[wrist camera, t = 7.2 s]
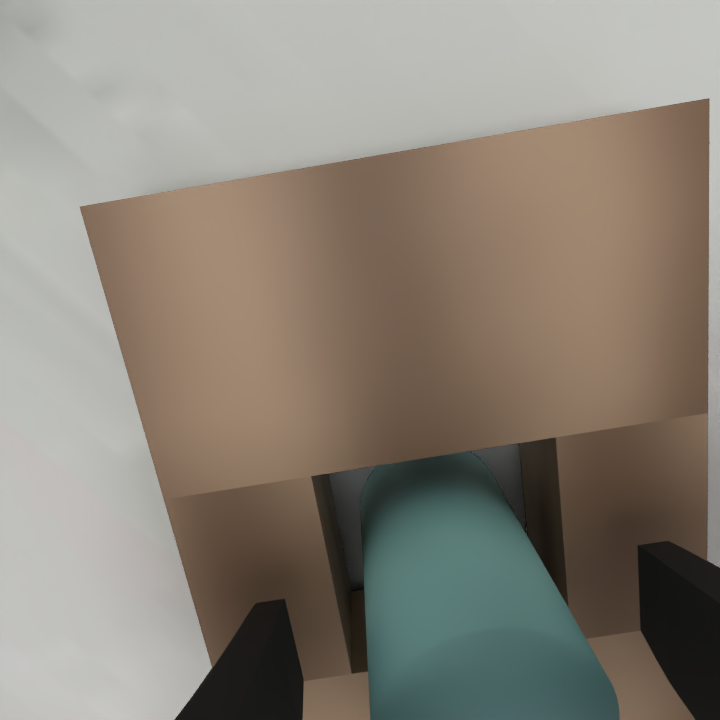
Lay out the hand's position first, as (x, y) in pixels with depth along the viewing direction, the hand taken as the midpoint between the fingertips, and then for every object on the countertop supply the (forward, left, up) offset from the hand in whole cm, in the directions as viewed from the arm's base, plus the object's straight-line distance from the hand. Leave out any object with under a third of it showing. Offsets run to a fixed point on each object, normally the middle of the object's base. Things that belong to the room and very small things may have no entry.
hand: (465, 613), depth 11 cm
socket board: (0, 0, -5) cm, 5 cm away
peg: (0, 0, -5) cm, 5 cm away
